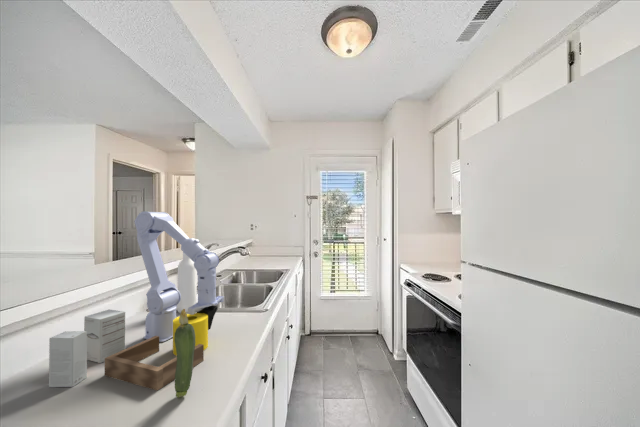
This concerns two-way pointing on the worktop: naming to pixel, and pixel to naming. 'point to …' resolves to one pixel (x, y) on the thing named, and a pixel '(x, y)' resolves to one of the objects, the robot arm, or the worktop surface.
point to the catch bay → (145, 365)
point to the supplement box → (104, 334)
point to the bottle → (187, 284)
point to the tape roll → (200, 328)
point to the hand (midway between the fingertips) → (207, 329)
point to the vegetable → (184, 354)
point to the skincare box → (67, 358)
